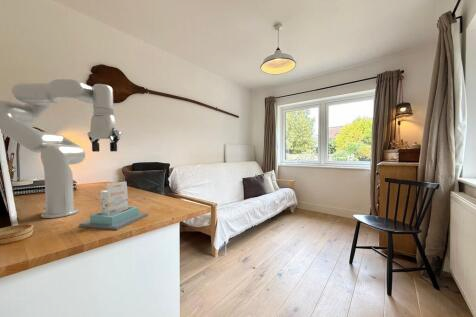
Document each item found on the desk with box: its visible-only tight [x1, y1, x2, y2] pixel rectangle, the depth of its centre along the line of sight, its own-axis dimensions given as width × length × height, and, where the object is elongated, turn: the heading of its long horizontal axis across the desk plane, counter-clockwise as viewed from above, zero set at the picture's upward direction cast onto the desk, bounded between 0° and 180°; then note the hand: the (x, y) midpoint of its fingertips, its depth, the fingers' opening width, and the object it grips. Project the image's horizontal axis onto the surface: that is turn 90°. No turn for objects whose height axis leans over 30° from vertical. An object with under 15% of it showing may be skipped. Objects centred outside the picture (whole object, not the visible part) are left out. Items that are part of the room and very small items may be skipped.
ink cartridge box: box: [99, 181, 129, 216], centre depth 83 cm, size 9×5×15 cm, turn 153°
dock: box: [78, 205, 149, 231], centre depth 83 cm, size 17×17×4 cm
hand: (104, 151), depth 92 cm, fingers open, 9 cm apart
